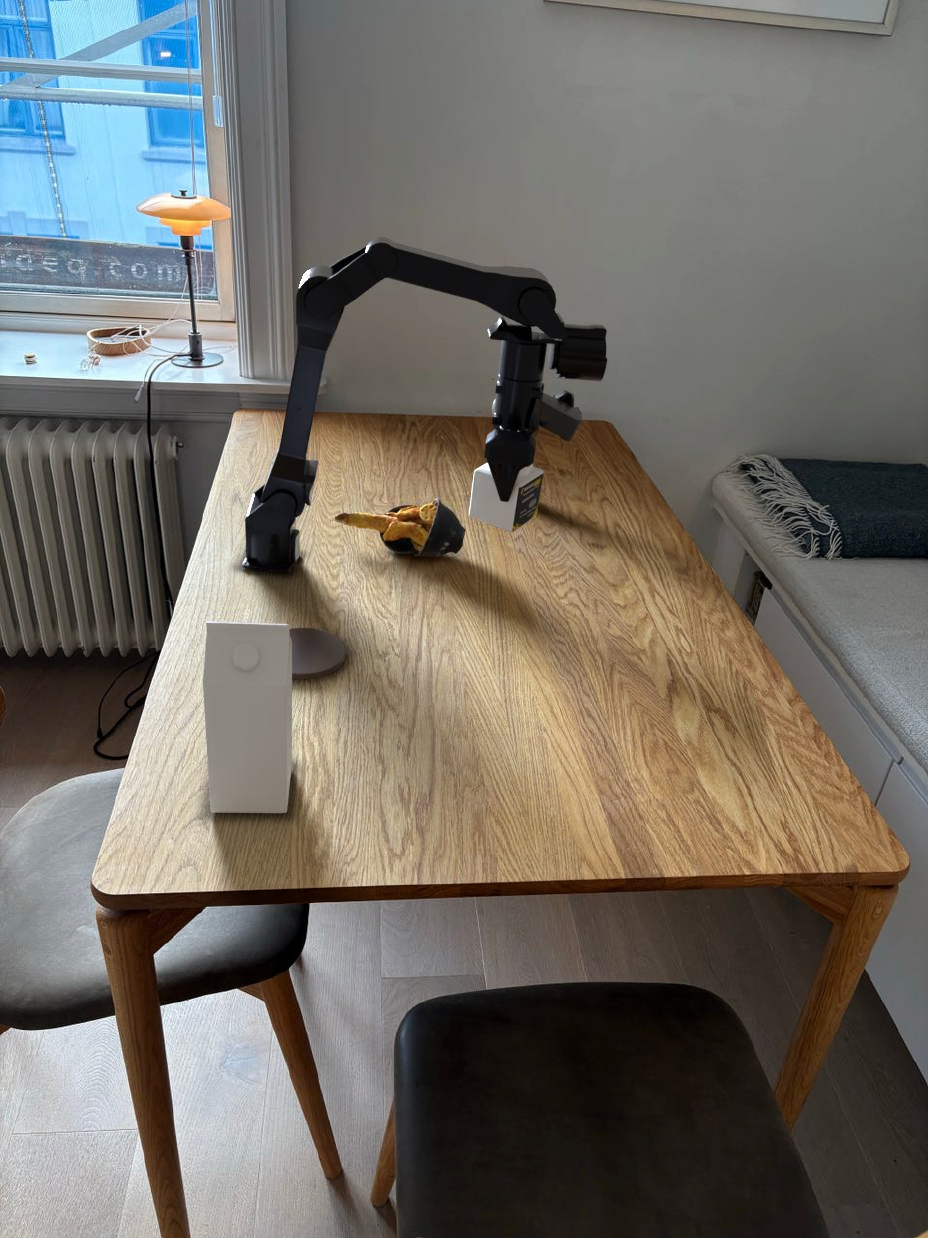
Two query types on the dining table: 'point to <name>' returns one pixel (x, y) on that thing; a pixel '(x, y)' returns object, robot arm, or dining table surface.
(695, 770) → the dining table surface
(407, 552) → the fried shrimp in bowl
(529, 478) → the medicine bottle
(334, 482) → the dining table surface
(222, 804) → the milk carton
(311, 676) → the coaster
